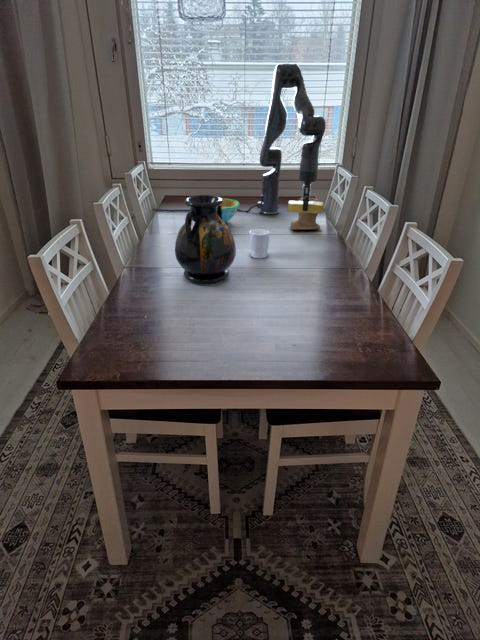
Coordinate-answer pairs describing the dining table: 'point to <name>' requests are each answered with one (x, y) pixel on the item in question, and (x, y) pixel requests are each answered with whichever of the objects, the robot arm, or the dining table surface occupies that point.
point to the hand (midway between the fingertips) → (305, 208)
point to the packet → (298, 206)
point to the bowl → (228, 209)
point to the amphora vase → (205, 242)
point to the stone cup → (306, 220)
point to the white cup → (259, 243)
